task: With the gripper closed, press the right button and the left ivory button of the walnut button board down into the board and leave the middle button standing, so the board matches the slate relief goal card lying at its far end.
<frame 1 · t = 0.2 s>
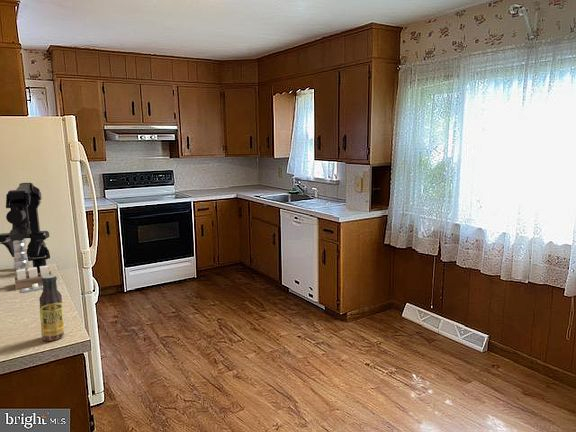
hand: (25, 256, 183), 14 cm above the worktop, fingers open, 9 cm apart
sauce bottle: (54, 338, 135), on the worktop
button 2: (44, 272, 192), point 5 cm above the worktop, slide at 0.0 cm
board: (34, 284, 190), on the worktop
plastic bottle: (22, 269, 215), on the worktop
button middle: (33, 273, 189), point 5 cm above the worktop, slide at 0.0 cm
goal card: (35, 289, 183), on the worktop
button 1: (21, 275, 187), point 5 cm above the worktop, slide at 0.0 cm
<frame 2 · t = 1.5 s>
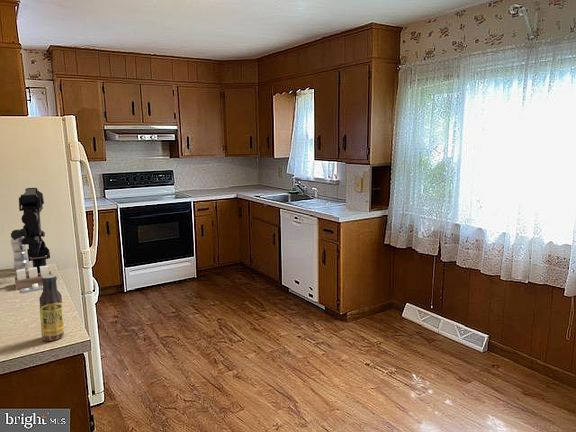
hand: (35, 255, 196), 11 cm above the worktop, fingers closed
nothing on the worktop moved.
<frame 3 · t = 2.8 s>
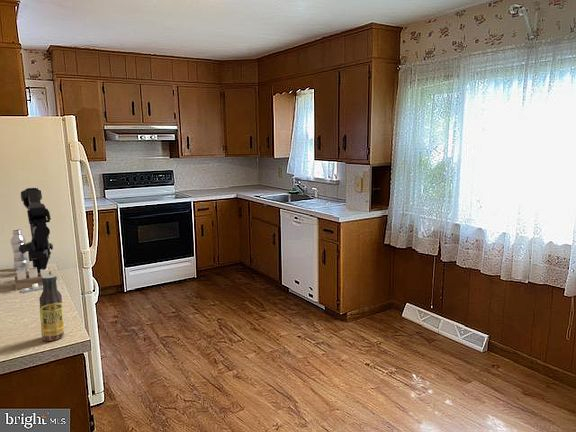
hand: (44, 269, 191), 6 cm above the worktop, fingers closed, pressing on button 2
button 2: (44, 274, 192), point 3 cm above the worktop, slide at 1.2 cm, touching gripper
everything else where it was.
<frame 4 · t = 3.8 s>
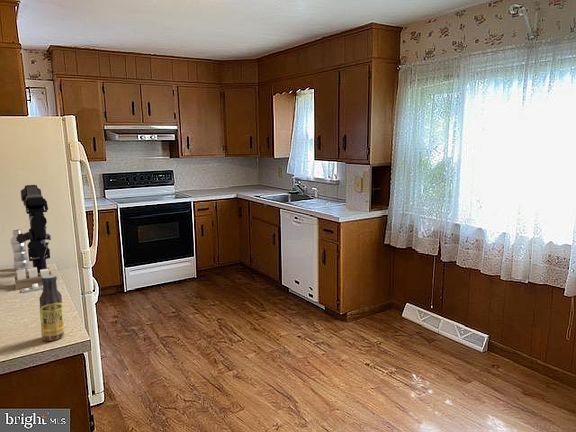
hand: (41, 259, 190), 10 cm above the worktop, fingers closed
button 2: (45, 275, 192), point 3 cm above the worktop, slide at 1.5 cm
everything else where it was.
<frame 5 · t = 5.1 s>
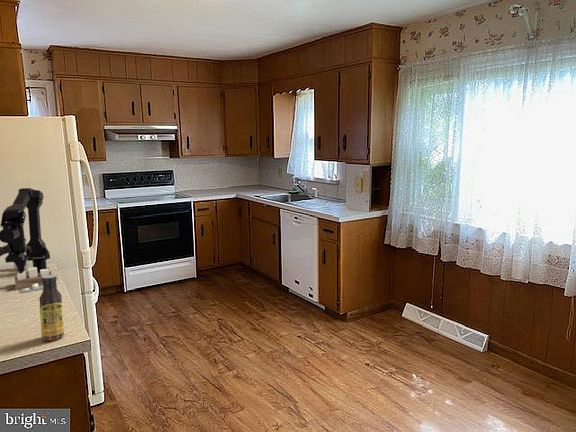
hand: (21, 273, 187), 6 cm above the worktop, fingers closed, pressing on button 1
button 1: (21, 278, 187), point 3 cm above the worktop, slide at 1.4 cm, touching gripper
everything else where it was.
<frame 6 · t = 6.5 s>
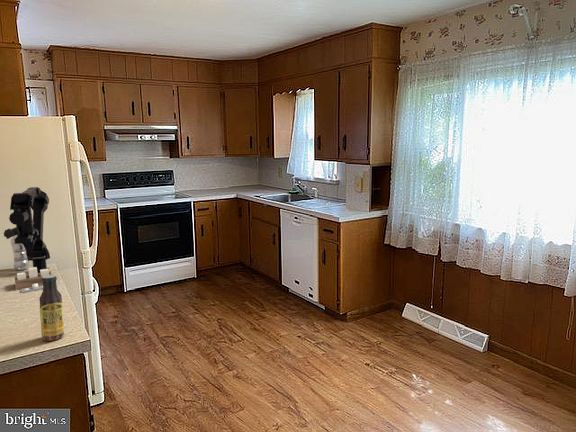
hand: (29, 254, 195), 12 cm above the worktop, fingers closed
button 1: (21, 279, 187), point 3 cm above the worktop, slide at 1.5 cm
everything else where it was.
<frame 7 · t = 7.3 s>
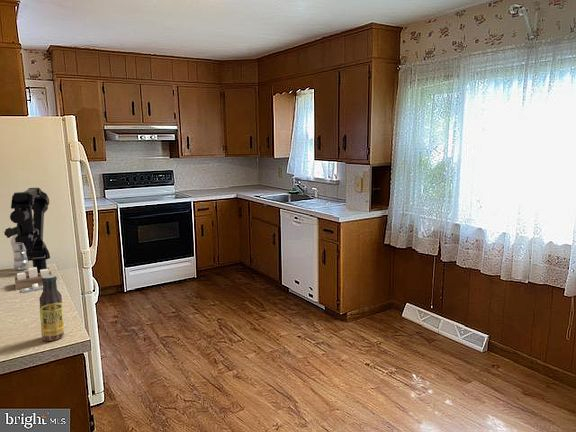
hand: (29, 253, 196), 12 cm above the worktop, fingers closed
nothing on the worktop moved.
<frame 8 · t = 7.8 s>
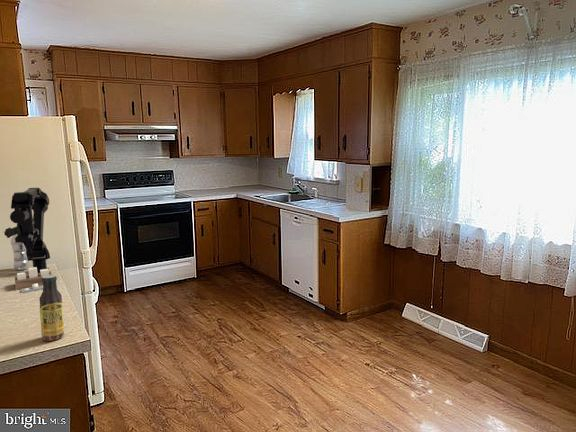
hand: (29, 253, 196), 12 cm above the worktop, fingers closed
nothing on the worktop moved.
at the end: button 2 slide at 1.5 cm; button 1 slide at 1.5 cm; button middle slide at 0.0 cm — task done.
